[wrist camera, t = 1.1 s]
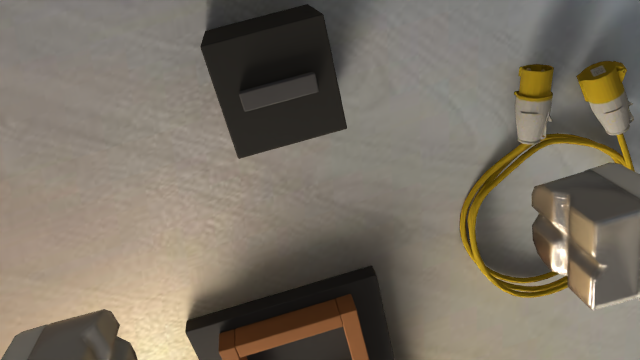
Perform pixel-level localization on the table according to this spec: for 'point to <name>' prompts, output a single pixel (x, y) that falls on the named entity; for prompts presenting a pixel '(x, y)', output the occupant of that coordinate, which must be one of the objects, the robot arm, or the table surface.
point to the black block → (275, 79)
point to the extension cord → (531, 119)
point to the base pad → (300, 324)
